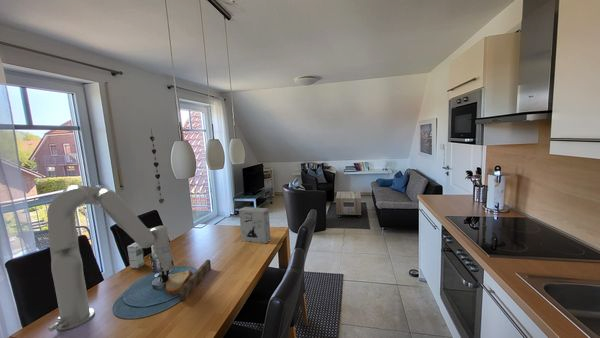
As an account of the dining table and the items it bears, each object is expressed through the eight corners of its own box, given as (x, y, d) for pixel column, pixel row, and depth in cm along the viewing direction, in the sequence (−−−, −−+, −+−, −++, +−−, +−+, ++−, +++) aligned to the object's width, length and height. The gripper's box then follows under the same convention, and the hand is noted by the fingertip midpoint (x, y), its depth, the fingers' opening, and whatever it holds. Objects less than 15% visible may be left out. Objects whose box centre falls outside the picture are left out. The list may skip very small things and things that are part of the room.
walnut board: (184, 301, 120) (182, 289, 119) (180, 301, 120) (179, 289, 119) (211, 269, 149) (210, 259, 149) (207, 269, 150) (206, 259, 149)
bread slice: (173, 297, 124) (172, 290, 124) (155, 287, 134) (154, 280, 134) (204, 279, 139) (203, 273, 139) (185, 271, 149) (185, 265, 148)
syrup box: (137, 268, 155) (134, 246, 154) (129, 267, 156) (126, 246, 155) (145, 263, 161) (142, 242, 159) (137, 263, 162) (134, 242, 160)
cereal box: (241, 241, 190) (238, 209, 188) (247, 237, 197) (244, 206, 194) (265, 244, 182) (263, 211, 179) (270, 240, 189) (268, 208, 186)
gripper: (143, 252, 131) (148, 284, 133) (170, 251, 130) (174, 284, 132) (153, 246, 138) (156, 277, 140) (178, 245, 137) (182, 276, 139)
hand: (165, 280), depth 136 cm, fingers closed
